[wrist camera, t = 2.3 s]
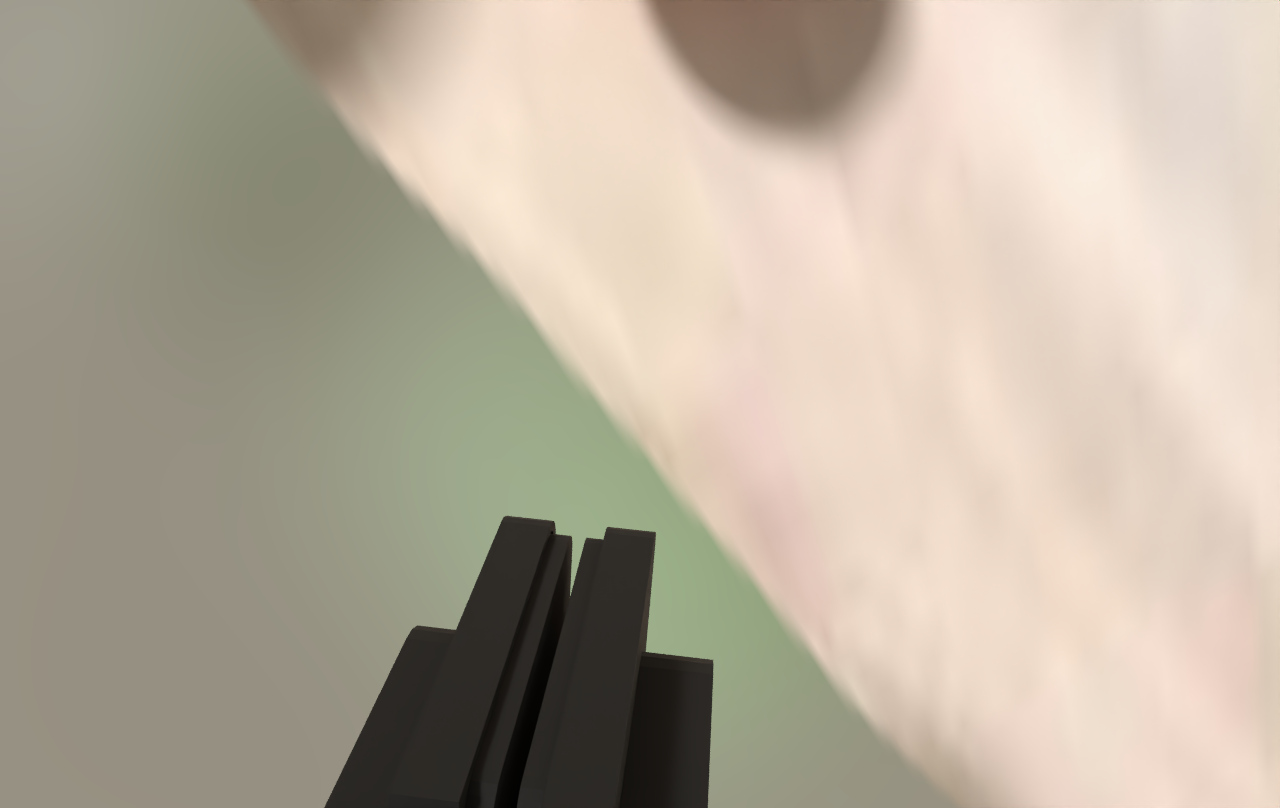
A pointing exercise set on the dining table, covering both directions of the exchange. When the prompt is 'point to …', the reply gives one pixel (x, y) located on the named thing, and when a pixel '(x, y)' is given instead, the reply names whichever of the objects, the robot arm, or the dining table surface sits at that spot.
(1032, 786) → the dining table surface
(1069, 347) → the dining table surface
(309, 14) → the dining table surface
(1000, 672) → the dining table surface
